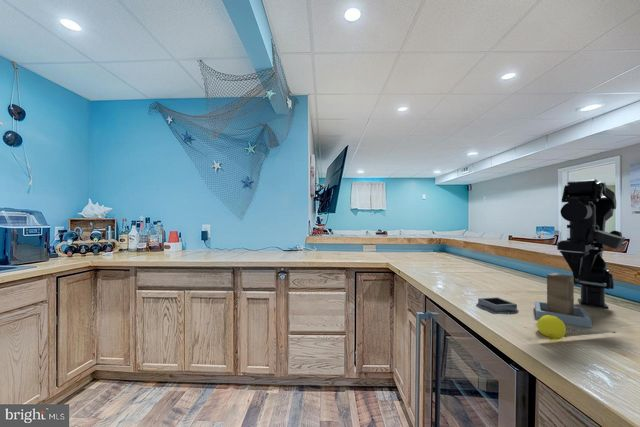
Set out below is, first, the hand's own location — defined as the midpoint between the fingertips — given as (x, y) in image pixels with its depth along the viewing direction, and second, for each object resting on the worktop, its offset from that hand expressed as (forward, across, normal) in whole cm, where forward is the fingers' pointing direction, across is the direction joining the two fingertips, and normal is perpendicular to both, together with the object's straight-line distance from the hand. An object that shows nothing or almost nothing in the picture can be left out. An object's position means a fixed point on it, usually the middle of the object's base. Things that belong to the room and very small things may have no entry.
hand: (582, 273), depth 83 cm
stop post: (+11, -12, +1) cm, 17 cm away
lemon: (+12, -28, -2) cm, 31 cm away
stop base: (+12, -20, +14) cm, 27 cm away
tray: (+12, -12, +1) cm, 17 cm away
